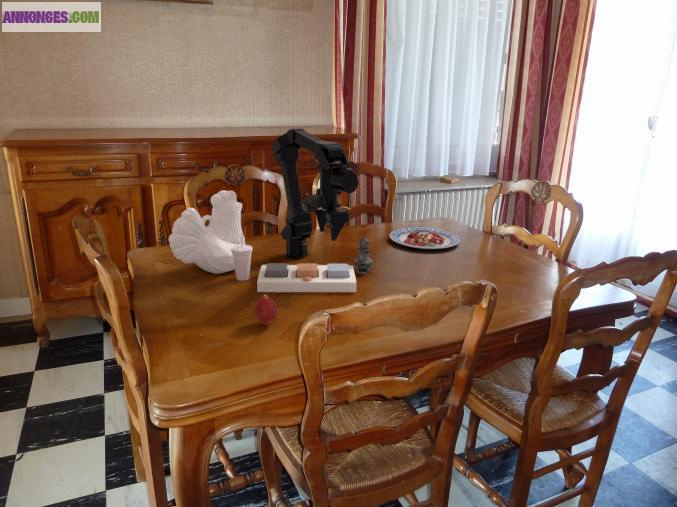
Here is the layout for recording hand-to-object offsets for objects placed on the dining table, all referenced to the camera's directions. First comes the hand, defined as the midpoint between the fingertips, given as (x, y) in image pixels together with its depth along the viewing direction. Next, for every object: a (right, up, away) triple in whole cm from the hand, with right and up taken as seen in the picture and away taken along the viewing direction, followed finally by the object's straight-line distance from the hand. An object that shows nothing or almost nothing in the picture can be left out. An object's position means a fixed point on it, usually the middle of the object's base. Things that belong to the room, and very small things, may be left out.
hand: (327, 236), depth 161 cm
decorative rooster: (-37, -11, +2) cm, 39 cm away
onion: (-15, -23, -31) cm, 42 cm away
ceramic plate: (+35, -1, +35) cm, 50 cm away
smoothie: (-25, -13, -3) cm, 29 cm away
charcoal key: (-15, -12, -7) cm, 20 cm away
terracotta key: (-6, -12, -6) cm, 15 cm away
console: (-6, -14, -5) cm, 16 cm away
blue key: (+3, -12, -6) cm, 14 cm away
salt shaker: (+11, -11, +5) cm, 16 cm away
